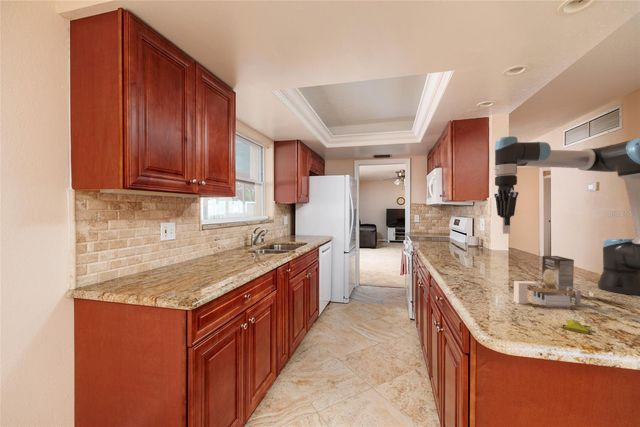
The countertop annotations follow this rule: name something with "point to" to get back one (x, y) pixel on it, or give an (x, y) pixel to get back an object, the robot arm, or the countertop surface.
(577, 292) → the board
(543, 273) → the coffee box
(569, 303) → the heatsink
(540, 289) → the strap
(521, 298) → the cream l-shaped bracket
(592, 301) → the countertop surface
